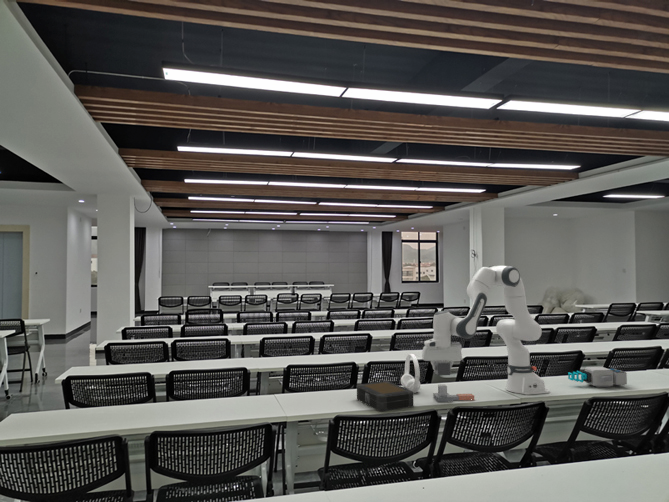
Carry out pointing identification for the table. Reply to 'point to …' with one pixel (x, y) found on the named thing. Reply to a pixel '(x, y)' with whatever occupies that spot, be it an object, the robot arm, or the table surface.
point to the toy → (600, 376)
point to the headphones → (407, 378)
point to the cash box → (385, 396)
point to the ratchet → (445, 397)
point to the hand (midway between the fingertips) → (442, 369)
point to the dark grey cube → (442, 367)
